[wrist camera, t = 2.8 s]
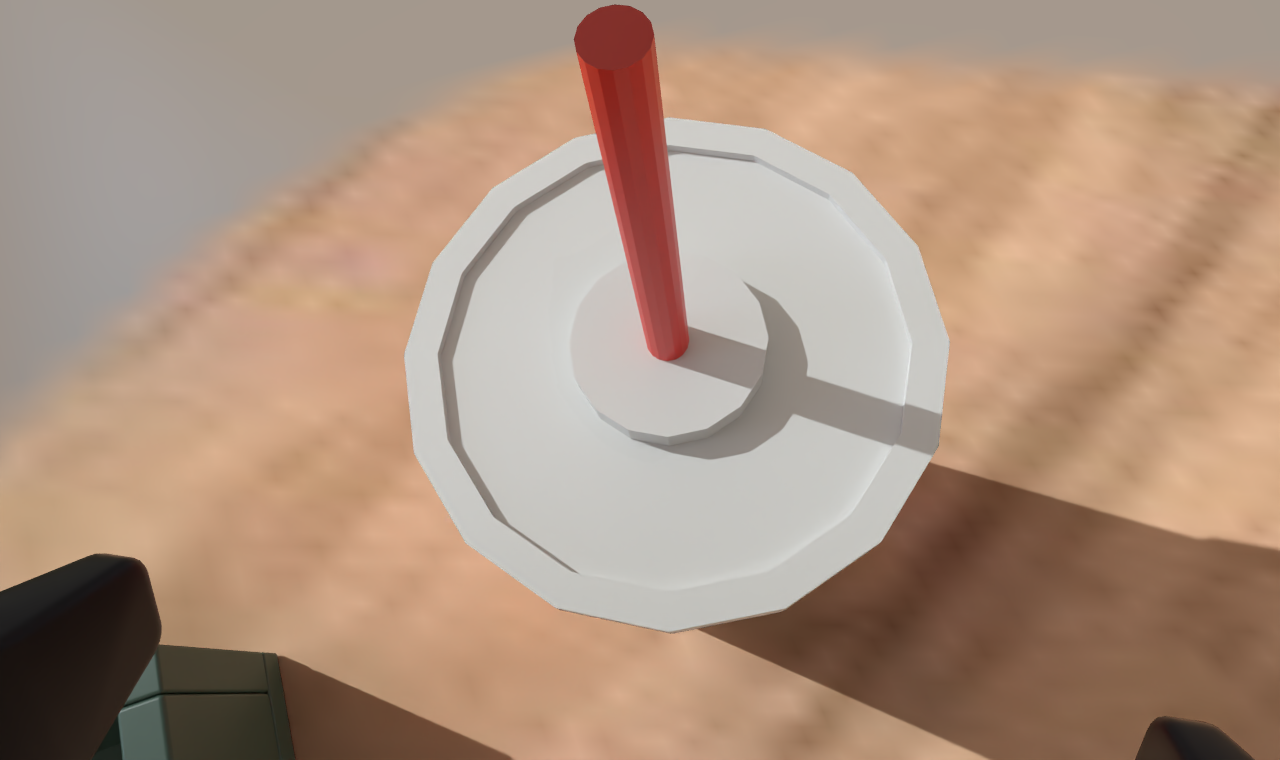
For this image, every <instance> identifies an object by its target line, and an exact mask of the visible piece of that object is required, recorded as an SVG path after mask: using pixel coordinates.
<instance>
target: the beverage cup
mask: <svg viewBox="0 0 1280 760" xmlns="http://www.w3.org/2000/svg"><path fill="white" fill-rule="evenodd" d="M574 42H575V47H576V52H577V56H578V60H579V65H580V69H581V73H582V77H583V81H584V85H585V90H586V94H587V98H588V102H589V106H590V110H591V115H592V119H593V123H594V127H595V131H596V133H595V134H591V135H586V136H581V137H577V138H574V139H572V140H571V141H569V142H567V143H566V144H564V145H562V146H561V147H559V148H557V149H556V150H554V151H552V152H551V153H549V154H548V155H546V156H544V157H543V158H541V159H539V160H538V161H536V162H534V163H533V164H531V165H530V166H528V167H526V168H525V169H523V170H521V171H520V172H518V173H516V174H515V175H513V176H511V177H510V178H508V179H507V180H505V181H503V182H502V183H500V184H498V185H497V186H495V187H493V188H492V189H491V191H490V192H489V193H488V194H487V196H486V197H485V198H484V199H483V201H482V202H481V203H480V204H479V206H478V207H477V208H476V209H475V211H474V212H473V213H472V214H471V216H470V217H469V218H468V219H467V221H466V222H465V223H464V224H463V226H462V227H461V228H460V229H459V231H458V232H457V233H456V234H455V236H454V237H453V238H452V239H451V241H450V242H449V243H448V244H447V246H446V247H445V248H444V249H443V251H442V252H441V253H440V254H439V256H438V257H437V258H436V259H435V261H434V262H433V264H432V267H431V270H430V273H429V276H428V280H427V283H426V286H425V289H424V292H423V296H422V299H421V302H420V305H419V309H418V312H417V315H416V318H415V321H414V325H413V328H412V331H411V334H410V338H409V341H408V344H407V347H406V350H405V354H404V359H405V369H406V379H407V389H408V399H409V408H410V418H411V428H412V438H413V448H414V454H415V456H416V458H417V459H418V461H419V463H420V465H421V466H422V468H423V470H424V471H425V473H426V475H427V477H428V478H429V480H430V482H431V484H432V485H433V487H434V489H435V491H436V492H437V494H438V496H439V498H440V499H441V501H442V503H443V505H444V506H445V508H446V510H447V511H448V513H449V515H450V517H451V518H452V520H453V522H454V524H455V525H456V527H457V529H458V531H459V532H460V534H461V536H462V538H463V539H464V541H465V543H466V544H468V545H469V546H470V547H472V548H473V549H474V550H476V551H477V552H479V553H480V554H481V555H483V556H484V557H486V558H487V559H488V560H490V561H491V562H492V563H494V564H495V565H497V566H498V567H499V568H501V569H502V570H504V571H505V572H506V573H508V574H509V575H511V576H512V577H513V578H515V579H516V580H517V581H519V582H520V583H522V584H523V585H524V586H526V587H527V588H529V589H530V590H531V591H533V592H534V593H535V594H537V595H538V596H540V597H541V598H542V599H544V600H545V601H547V602H548V603H549V604H551V605H552V606H553V607H555V608H557V609H559V610H562V611H567V612H572V613H577V614H581V615H586V616H591V617H595V618H600V619H605V620H609V621H614V622H619V623H624V624H628V625H633V626H638V627H642V628H647V629H652V630H656V631H661V632H666V633H670V634H671V633H679V632H684V631H689V630H694V629H698V628H703V627H708V626H713V625H718V624H723V623H728V622H733V621H738V620H743V619H748V618H753V617H758V616H763V615H768V614H773V613H778V612H781V611H784V610H786V609H787V608H789V607H790V606H792V605H793V604H794V603H796V602H797V601H799V600H800V599H802V598H803V597H804V596H806V595H807V594H809V593H810V592H812V591H813V590H814V589H816V588H817V587H819V586H820V585H822V584H823V583H824V582H826V581H827V580H829V579H830V578H832V577H833V576H835V575H836V574H837V573H839V572H840V571H842V570H843V569H845V568H846V567H847V566H849V565H850V564H852V563H853V562H855V561H856V560H857V559H859V558H860V557H862V556H863V555H865V554H866V553H868V552H869V551H870V550H872V549H873V548H875V547H876V546H877V545H878V544H879V543H881V541H882V540H883V538H884V536H885V535H886V533H887V531H888V530H889V528H890V526H891V525H892V523H893V521H894V520H895V518H896V516H897V515H898V513H899V511H900V510H901V508H902V506H903V505H904V503H905V501H906V500H907V498H908V496H909V495H910V493H911V491H912V490H913V488H914V486H915V485H916V483H917V481H918V480H919V478H920V476H921V475H922V473H923V471H924V470H925V468H926V466H927V465H928V463H929V461H930V460H931V458H932V456H933V455H934V453H935V451H936V450H937V448H938V446H939V437H940V428H941V419H942V409H943V400H944V391H945V381H946V372H947V363H948V353H949V344H950V341H949V338H948V335H947V332H946V329H945V326H944V323H943V320H942V317H941V314H940V311H939V308H938V305H937V302H936V299H935V296H934V293H933V290H932V287H931V284H930V281H929V278H928V275H927V272H926V269H925V266H924V263H923V260H922V257H921V254H920V251H919V248H918V246H917V245H916V244H915V242H914V241H913V240H912V239H911V238H910V237H909V236H908V235H907V233H906V232H905V231H904V230H903V229H902V228H901V227H900V226H899V225H898V223H897V222H896V221H895V220H894V219H893V218H892V217H891V216H890V214H889V213H888V212H887V211H886V210H885V209H884V208H883V207H882V205H881V204H880V203H879V202H878V201H877V200H876V199H875V198H874V197H873V195H872V194H871V193H870V192H869V191H868V190H867V189H866V188H865V186H864V185H863V184H862V183H861V182H860V181H859V180H858V179H857V177H856V176H855V175H854V174H853V173H852V172H850V171H848V170H846V169H844V168H842V167H840V166H838V165H836V164H834V163H832V162H830V161H828V160H826V159H824V158H822V157H820V156H818V155H816V154H814V153H812V152H810V151H808V150H806V149H804V148H802V147H800V146H798V145H796V144H794V143H792V142H790V141H788V140H786V139H784V138H782V137H780V136H778V135H776V134H774V133H772V132H770V131H768V130H766V129H761V128H753V127H745V126H736V125H728V124H720V123H711V122H703V121H695V120H686V119H678V118H670V117H669V118H664V117H663V108H662V99H661V91H660V82H659V73H658V65H657V56H656V47H655V39H654V32H653V28H652V24H651V22H650V20H649V19H648V18H647V17H646V16H645V15H644V13H643V12H641V11H639V10H637V9H635V8H633V7H631V6H624V5H610V6H606V7H601V8H598V9H597V10H595V11H593V12H592V13H590V14H588V15H587V16H586V17H585V18H584V19H583V21H582V22H581V23H580V24H579V26H578V27H577V31H576V34H575V37H574Z"/></svg>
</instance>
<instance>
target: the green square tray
mask: <svg viewBox="0 0 1280 760" xmlns="http://www.w3.org/2000/svg"><path fill="white" fill-rule="evenodd" d="M92 760H295V756H294V750H293V744H292V739H291V733H290V727H289V721H288V716H287V710H286V704H285V698H284V693H283V687H282V681H281V675H280V670H279V664H278V658H277V655H276V654H275V653H263V652H262V653H260V652H247V651H234V650H222V649H209V648H197V647H184V646H171V645H159V644H158V647H157V650H156V652H155V654H154V655H153V657H152V659H151V660H150V662H149V664H148V665H147V667H146V669H145V671H144V672H143V674H142V676H141V677H140V679H139V681H138V682H137V684H136V686H135V687H134V689H133V691H132V692H131V694H130V696H129V697H128V699H127V701H126V702H125V704H124V706H123V708H122V709H121V711H120V713H119V714H118V716H117V718H116V719H115V721H114V723H113V724H112V726H111V728H110V729H109V731H108V733H107V734H106V736H105V738H104V739H103V741H102V743H101V745H100V746H99V748H98V750H97V751H96V753H95V755H94V756H93V758H92Z"/></svg>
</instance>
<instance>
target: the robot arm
mask: <svg viewBox="0 0 1280 760" xmlns="http://www.w3.org/2000/svg"><path fill="white" fill-rule="evenodd" d="M161 628H162V625H161V620H160V616H159V612H158V609H157V605H156V601H155V597H154V593H153V590H152V586H151V582H150V578H149V575H148V571H147V569H146V567H145V566H144V565H143V563H142V562H141V561H140V560H137V559H135V558H131V557H125V556H118V555H112V554H93V555H90V556H87V557H85V558H82V559H80V560H77V561H75V562H72V563H70V564H67V565H65V566H63V567H60V568H58V569H55V570H53V571H50V572H48V573H45V574H43V575H40V576H38V577H35V578H33V579H31V580H28V581H26V582H23V583H21V584H18V585H16V586H13V587H11V588H8V589H6V590H3V591H1V592H0V760H92V758H93V756H94V755H95V753H96V751H97V750H98V748H99V746H100V745H101V743H102V741H103V739H104V738H105V736H106V734H107V733H108V731H109V729H110V728H111V726H112V724H113V723H114V721H115V719H116V718H117V716H118V714H119V713H120V711H121V709H122V708H123V706H124V704H125V702H126V701H127V699H128V697H129V696H130V694H131V692H132V691H133V689H134V687H135V686H136V684H137V682H138V681H139V679H140V677H141V676H142V674H143V672H144V671H145V669H146V667H147V665H148V664H149V662H150V660H151V659H152V657H153V655H154V654H155V652H156V650H157V647H158V644H159V642H160V637H161ZM1135 760H1255V759H1253V758H1252V757H1251V756H1250V755H1249V754H1248V753H1247V752H1246V751H1244V750H1243V749H1242V748H1241V747H1240V746H1239V745H1238V744H1237V743H1235V742H1234V741H1233V740H1232V739H1231V738H1230V737H1229V736H1228V735H1226V734H1225V733H1224V732H1223V731H1221V730H1220V729H1219V728H1218V727H1216V726H1214V725H1212V724H1209V723H1206V722H1201V721H1194V720H1188V719H1181V718H1175V717H1168V716H1164V717H1158V718H1156V719H1155V720H1154V721H1153V722H1152V723H1151V724H1150V726H1149V728H1148V730H1147V732H1146V734H1145V737H1144V739H1143V742H1142V744H1141V747H1140V749H1139V751H1138V754H1137V756H1136V759H1135Z"/></svg>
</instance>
